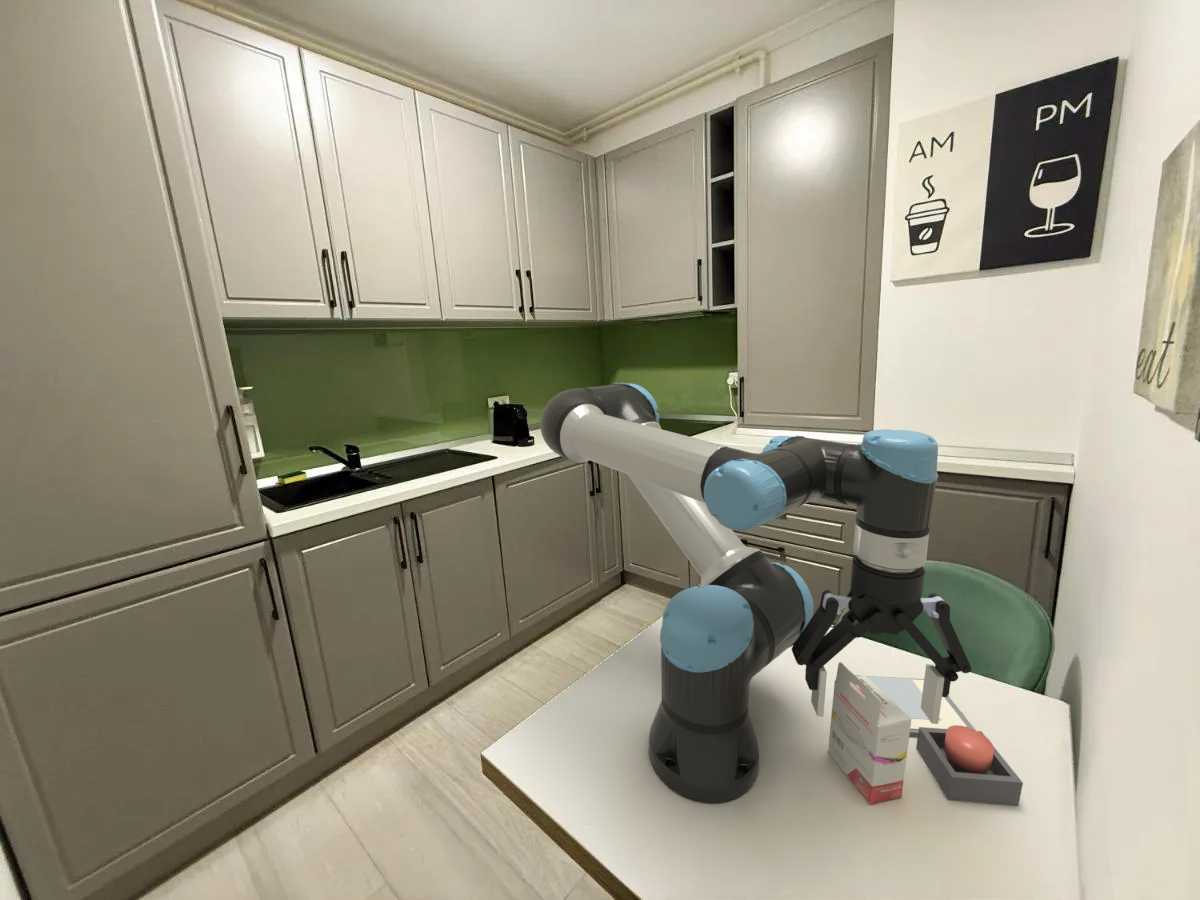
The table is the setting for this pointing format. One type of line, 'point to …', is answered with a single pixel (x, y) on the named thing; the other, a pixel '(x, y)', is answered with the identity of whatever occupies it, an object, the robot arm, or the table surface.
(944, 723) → the board
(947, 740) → the button
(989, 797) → the button housing
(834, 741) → the ink cartridge box
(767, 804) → the table surface
